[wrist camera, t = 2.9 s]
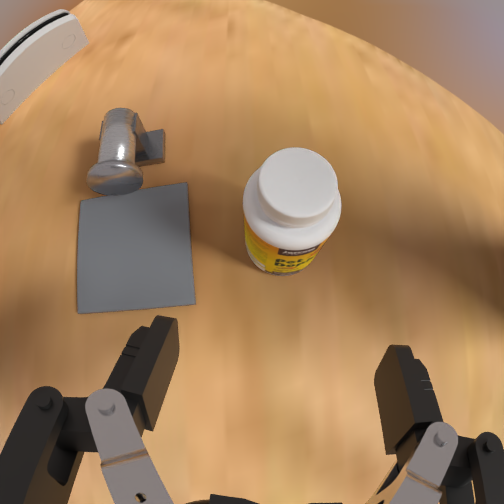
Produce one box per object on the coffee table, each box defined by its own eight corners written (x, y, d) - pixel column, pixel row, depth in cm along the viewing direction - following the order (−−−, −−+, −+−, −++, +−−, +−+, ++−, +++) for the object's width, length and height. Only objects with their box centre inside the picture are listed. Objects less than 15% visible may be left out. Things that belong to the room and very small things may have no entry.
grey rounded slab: (75, 36, 34) (63, -8, 24) (92, 48, 35) (82, 3, 25) (-9, 114, 31) (-39, 81, 21) (5, 130, 31) (-26, 98, 22)
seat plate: (187, 184, 27) (186, 182, 26) (195, 304, 24) (195, 303, 24) (82, 202, 26) (80, 200, 26) (80, 313, 24) (77, 313, 23)
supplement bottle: (266, 290, 24) (274, 254, 14) (233, 227, 26) (221, 158, 16) (329, 257, 25) (374, 204, 15) (295, 198, 26) (316, 120, 16)
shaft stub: (165, 134, 28) (148, 90, 22) (164, 198, 26) (142, 160, 20) (106, 145, 28) (80, 106, 22) (101, 209, 26) (67, 176, 20)
